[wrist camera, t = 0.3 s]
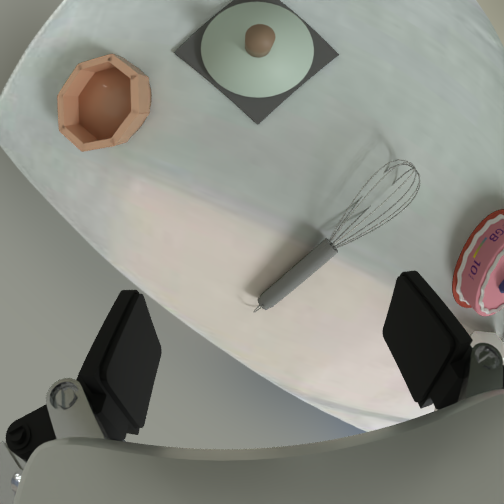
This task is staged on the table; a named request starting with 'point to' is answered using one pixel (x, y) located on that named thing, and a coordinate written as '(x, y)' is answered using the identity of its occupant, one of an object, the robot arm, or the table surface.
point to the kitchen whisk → (323, 252)
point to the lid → (257, 49)
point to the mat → (252, 105)
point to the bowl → (103, 103)
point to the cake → (482, 268)
